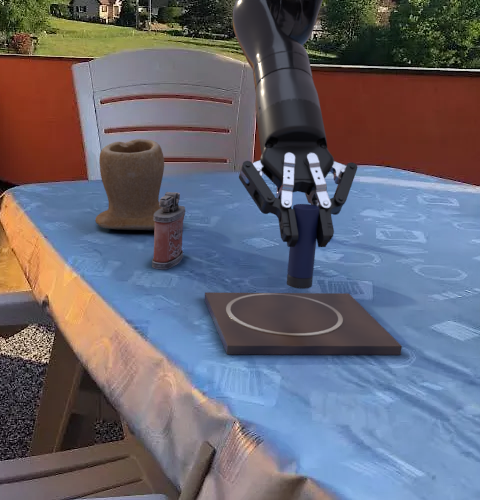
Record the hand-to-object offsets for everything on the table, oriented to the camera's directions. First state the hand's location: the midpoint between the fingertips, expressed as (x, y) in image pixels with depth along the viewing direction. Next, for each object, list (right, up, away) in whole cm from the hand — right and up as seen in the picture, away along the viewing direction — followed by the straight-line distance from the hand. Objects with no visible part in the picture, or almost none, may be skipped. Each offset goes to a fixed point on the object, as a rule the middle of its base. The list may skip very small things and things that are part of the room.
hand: (308, 242), depth 76 cm
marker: (0, -5, +3) cm, 6 cm away
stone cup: (-18, +2, +43) cm, 47 cm away
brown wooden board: (-1, -9, +4) cm, 10 cm away
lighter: (-14, -3, +26) cm, 30 cm away
